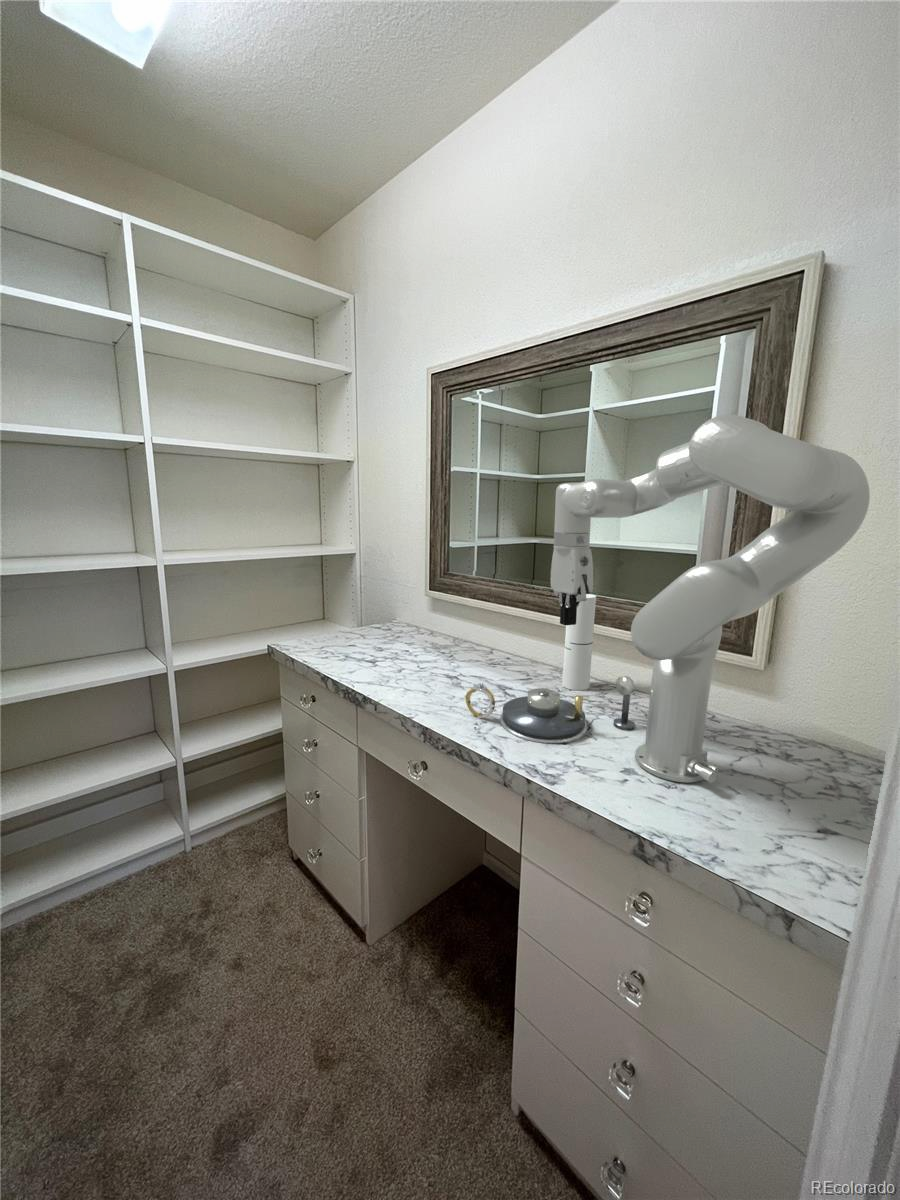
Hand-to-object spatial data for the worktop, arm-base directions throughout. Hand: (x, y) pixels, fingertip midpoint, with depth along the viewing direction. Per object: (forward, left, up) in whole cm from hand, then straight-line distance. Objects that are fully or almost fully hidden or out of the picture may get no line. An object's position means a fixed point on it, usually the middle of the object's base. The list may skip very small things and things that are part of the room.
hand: (567, 624), depth 105 cm
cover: (-1, +6, -19) cm, 20 cm away
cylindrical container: (+14, -16, -22) cm, 31 cm away
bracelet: (+6, +18, -22) cm, 29 cm away
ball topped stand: (-10, -10, -22) cm, 26 cm away
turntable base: (-2, +6, -22) cm, 23 cm away
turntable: (-2, +6, -22) cm, 23 cm away
